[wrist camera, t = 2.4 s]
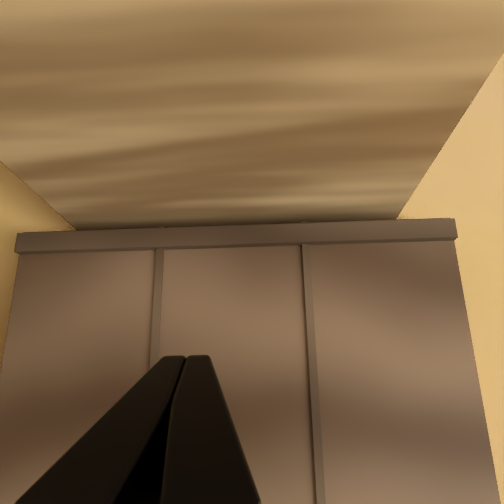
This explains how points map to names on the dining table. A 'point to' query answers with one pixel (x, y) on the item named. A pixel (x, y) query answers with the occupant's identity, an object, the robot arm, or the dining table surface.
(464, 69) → the plank
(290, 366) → the wooden panel
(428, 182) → the dining table surface
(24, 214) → the dining table surface
